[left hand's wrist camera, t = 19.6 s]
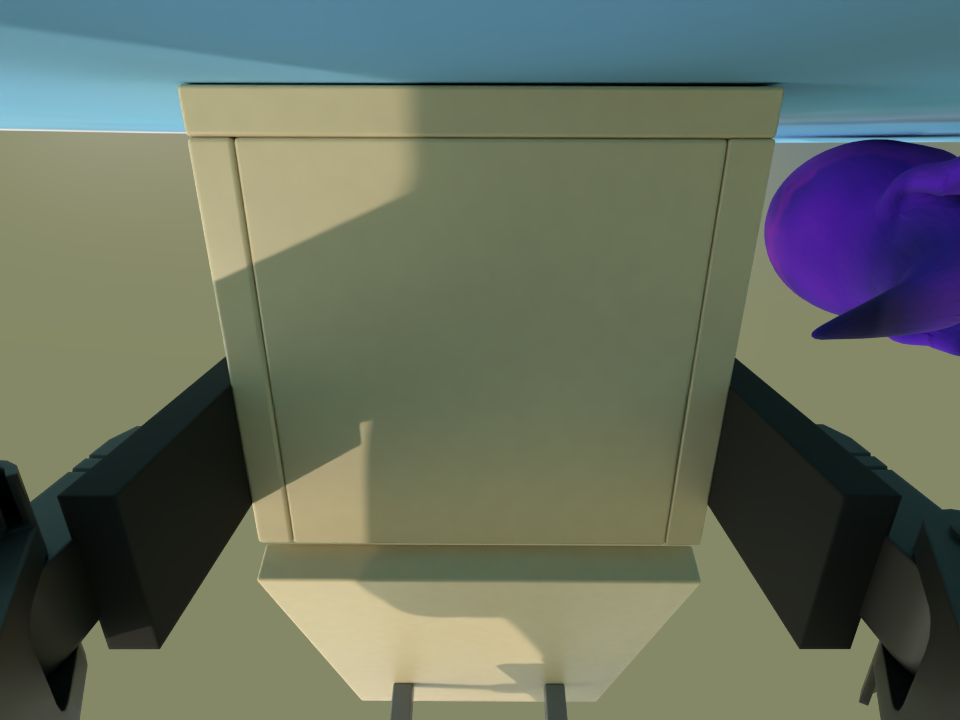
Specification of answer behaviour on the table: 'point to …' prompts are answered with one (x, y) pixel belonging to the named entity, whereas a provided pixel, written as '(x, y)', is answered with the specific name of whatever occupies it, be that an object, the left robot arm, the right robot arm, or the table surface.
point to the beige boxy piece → (479, 616)
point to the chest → (480, 302)
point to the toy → (873, 241)
